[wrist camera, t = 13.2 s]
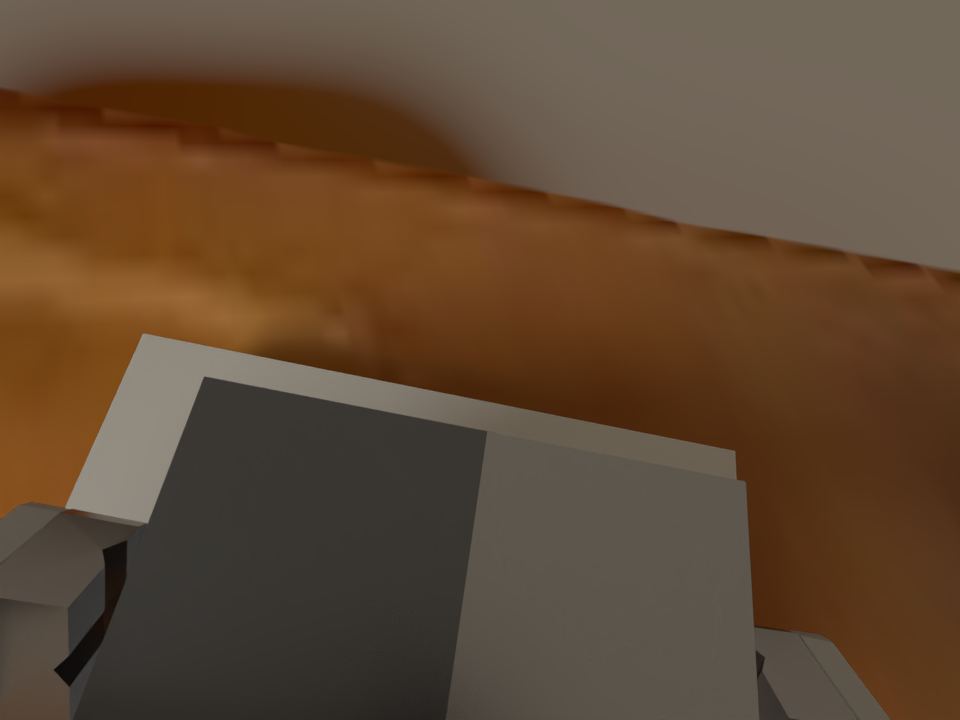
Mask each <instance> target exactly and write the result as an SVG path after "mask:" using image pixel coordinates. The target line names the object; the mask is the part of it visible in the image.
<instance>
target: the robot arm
mask: <svg viewBox="0 0 960 720" xmlns="http://www.w3.org/2000/svg"><path fill="white" fill-rule="evenodd" d="M146 527H147V523H144V522H139V521H133V520H128V519H123V518H118V517H113V516H107V515H102V514H97V513H92V512H87V511H81V510H76V509H67V508H62V507H57V506H52V505H46V504H41V503H36V502H29V503H26V504H22V505H19V506H17V507H16V508H15V509H13V510H12V511H11V512H9V513H8V514H7V515H6V516H4V517H3V518H2V519H1V520H0V720H73V718H74V715H75V712H76V710H77V707H78V705H79V702H80V699H81V697H82V694H83V692H84V689H85V686H86V684H87V681H88V678H89V676H90V673H91V671H92V668H93V665H94V663H95V660H96V658H97V655H98V652H99V650H100V647H101V645H102V642H103V639H104V637H105V634H106V631H107V629H108V626H109V624H110V621H111V618H112V616H113V613H114V611H115V608H116V605H117V603H118V600H119V597H120V595H121V592H122V590H123V587H124V584H125V582H126V579H127V577H128V574H129V571H130V569H131V566H132V563H133V561H134V558H135V556H136V553H137V550H138V548H139V545H140V543H141V540H142V537H143V535H144V532H145V529H146ZM754 636H755V654H756V671H757V689H758V707H759V720H890V718H889V717H888V716H887V714H886V713H885V712H884V710H883V709H882V708H881V706H880V705H879V704H878V702H877V701H876V700H875V698H874V697H873V696H872V694H871V693H870V692H869V690H868V689H867V688H866V686H865V685H864V684H863V682H862V681H861V680H860V678H859V677H858V676H857V674H856V673H855V672H854V670H853V669H852V668H851V666H850V665H849V664H848V662H847V661H846V660H845V658H844V657H843V656H842V654H841V653H840V652H839V650H838V649H837V648H836V646H835V645H834V644H833V642H831V641H830V640H829V639H827V638H826V637H824V636H823V635H821V634H814V633H807V632H800V631H793V630H788V631H786V630H781V629H775V628H769V627H763V626H757V625H754Z"/></svg>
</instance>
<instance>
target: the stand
mask: <svg viewBox="0 0 960 720" xmlns="http://www.w3.org/2000/svg"><path fill="white" fill-rule="evenodd" d="M204 376H205V377H210V378H216V379H221V380H226V381H231V382H236V383H241V384H246V385H252V386H257V387H262V388H267V389H272V390H277V391H283V392H288V393H293V394H298V395H303V396H308V397H313V398H319V399H324V400H329V401H334V402H339V403H344V404H349V405H355V406H360V407H365V408H370V409H375V410H380V411H386V412H391V413H396V414H401V415H406V416H411V417H416V418H422V419H427V420H432V421H437V422H442V423H447V424H452V425H458V426H463V427H468V428H473V429H478V430H483V431H488V432H493V433H499V434H504V435H509V436H514V437H519V438H524V439H530V440H535V441H540V442H545V443H550V444H555V445H560V446H566V447H571V448H576V449H581V450H586V451H591V452H596V453H602V454H607V455H612V456H617V457H622V458H627V459H633V460H638V461H643V462H648V463H653V464H658V465H663V466H669V467H674V468H679V469H684V470H689V471H694V472H700V473H705V474H710V475H715V476H720V477H725V478H730V479H736V480H737V476H736V456H735V451H733V450H728V449H723V448H718V447H713V446H708V445H703V444H698V443H693V442H688V441H683V440H678V439H673V438H667V437H662V436H657V435H652V434H647V433H642V432H637V431H632V430H627V429H622V428H617V427H612V426H607V425H602V424H597V423H592V422H587V421H582V420H577V419H572V418H567V417H562V416H557V415H552V414H547V413H542V412H537V411H532V410H527V409H521V408H516V407H511V406H506V405H501V404H496V403H491V402H486V401H481V400H476V399H471V398H466V397H461V396H456V395H451V394H446V393H441V392H436V391H431V390H426V389H421V388H416V387H411V386H406V385H401V384H396V383H391V382H386V381H380V380H375V379H370V378H365V377H360V376H355V375H350V374H345V373H340V372H335V371H330V370H325V369H320V368H315V367H310V366H305V365H300V364H295V363H290V362H285V361H280V360H275V359H270V358H265V357H260V356H255V355H250V354H245V353H240V352H234V351H229V350H224V349H219V348H214V347H209V346H204V345H199V344H194V343H189V342H184V341H179V340H174V339H169V338H164V337H159V336H154V335H149V334H144V333H143V335H142V337H141V339H140V341H139V344H138V346H137V348H136V350H135V353H134V355H133V357H132V359H131V362H130V364H129V366H128V368H127V370H126V373H125V375H124V377H123V379H122V382H121V384H120V386H119V388H118V391H117V393H116V395H115V397H114V400H113V402H112V404H111V406H110V408H109V411H108V413H107V415H106V417H105V420H104V422H103V424H102V426H101V429H100V431H99V433H98V435H97V438H96V440H95V442H94V444H93V446H92V449H91V451H90V453H89V455H88V458H87V460H86V462H85V464H84V467H83V469H82V471H81V473H80V475H79V478H78V480H77V482H76V484H75V487H74V489H73V491H72V493H71V496H70V498H69V500H68V502H67V505H66V507H65V508H67V509H76V510H81V511H87V512H92V513H97V514H102V515H107V516H113V517H118V518H123V519H128V520H133V521H139V522H144V523H147V524H148V522H149V519H150V516H151V514H152V511H153V509H154V506H155V503H156V501H157V498H158V495H159V493H160V490H161V488H162V485H163V482H164V480H165V477H166V475H167V472H168V469H169V467H170V464H171V462H172V459H173V456H174V454H175V451H176V448H177V446H178V443H179V441H180V438H181V435H182V433H183V430H184V428H185V425H186V422H187V420H188V417H189V414H190V412H191V409H192V407H193V404H194V401H195V399H196V396H197V394H198V391H199V388H200V386H201V383H202V380H203V378H204Z"/></svg>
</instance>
